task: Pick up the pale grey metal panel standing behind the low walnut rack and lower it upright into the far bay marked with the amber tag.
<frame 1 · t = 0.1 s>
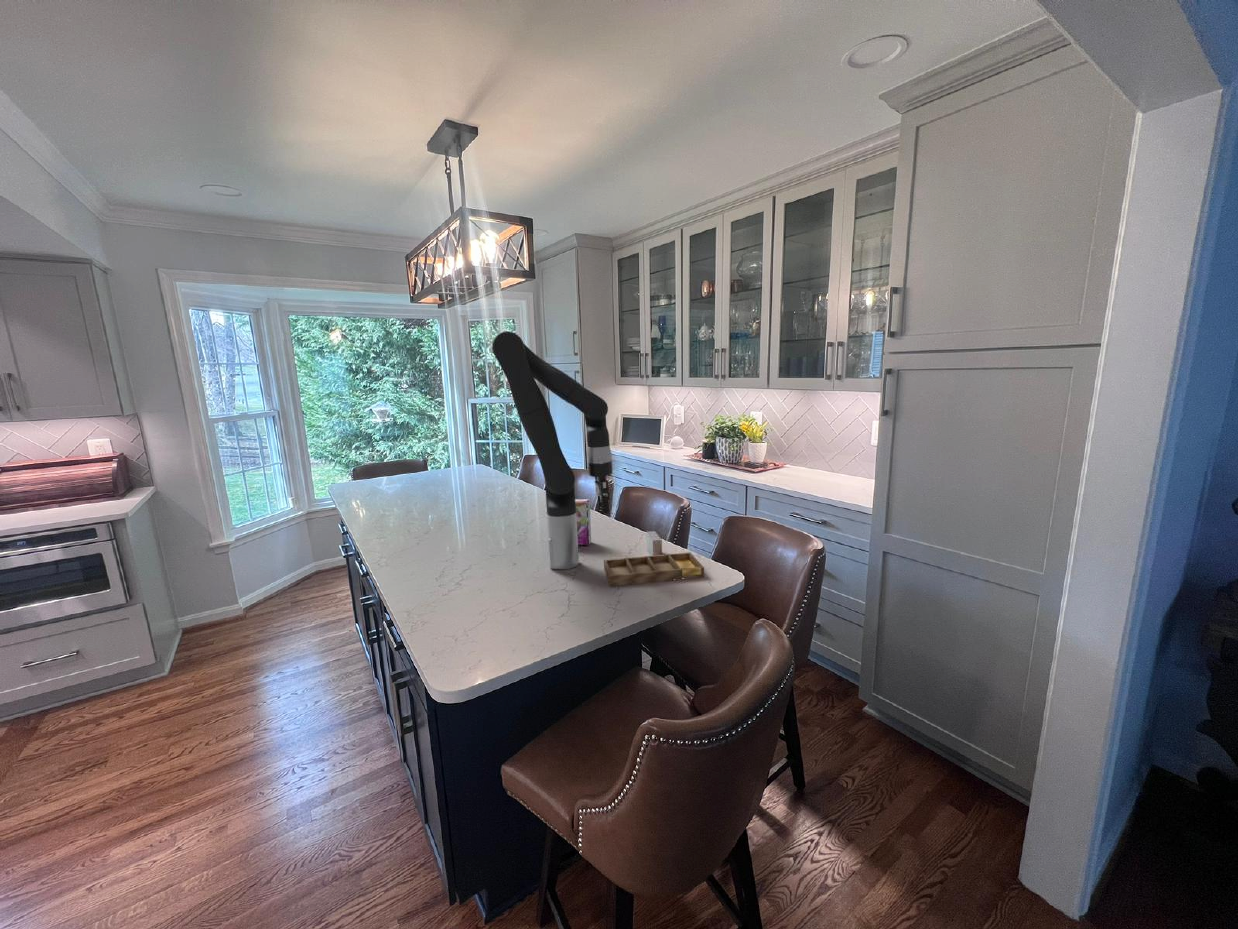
hand: (603, 509, 160), 17 cm above the kitchen island, tool pointing down, fingers open, 8 cm apart
candy bar box: (575, 544, 181), on the kitchen island
rack: (652, 573, 151), on the kitchen island
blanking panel: (654, 555, 166), on the kitchen island
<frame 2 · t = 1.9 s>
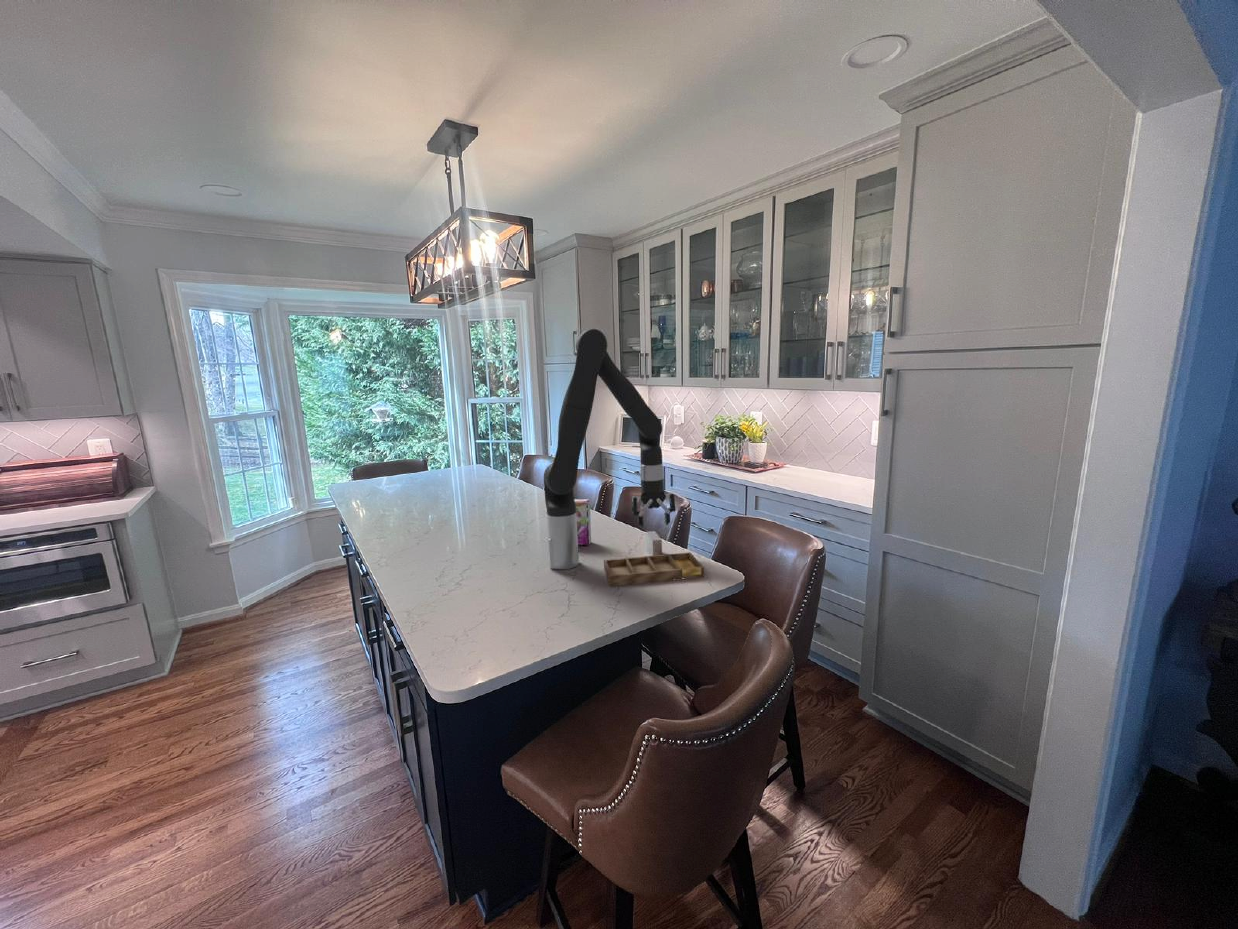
hand: (654, 525, 165), 10 cm above the kitchen island, tool pointing down, fingers open, 8 cm apart
nothing on the kitchen island moved.
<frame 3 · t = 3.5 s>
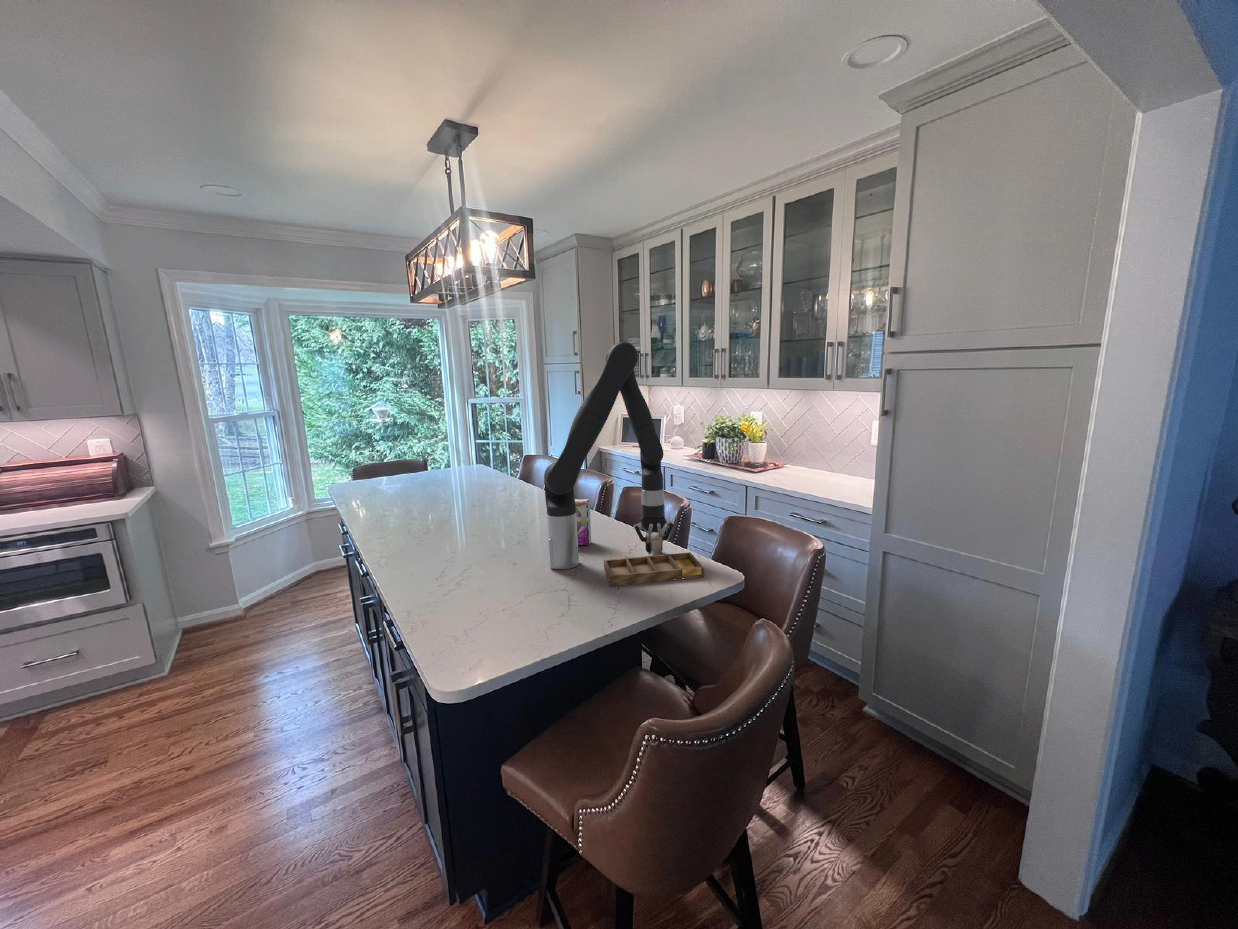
hand: (654, 552, 166), 1 cm above the kitchen island, tool pointing down, fingers closed on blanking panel, 3 cm apart
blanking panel: (654, 555, 166), on the kitchen island, touching gripper
everything else where it was.
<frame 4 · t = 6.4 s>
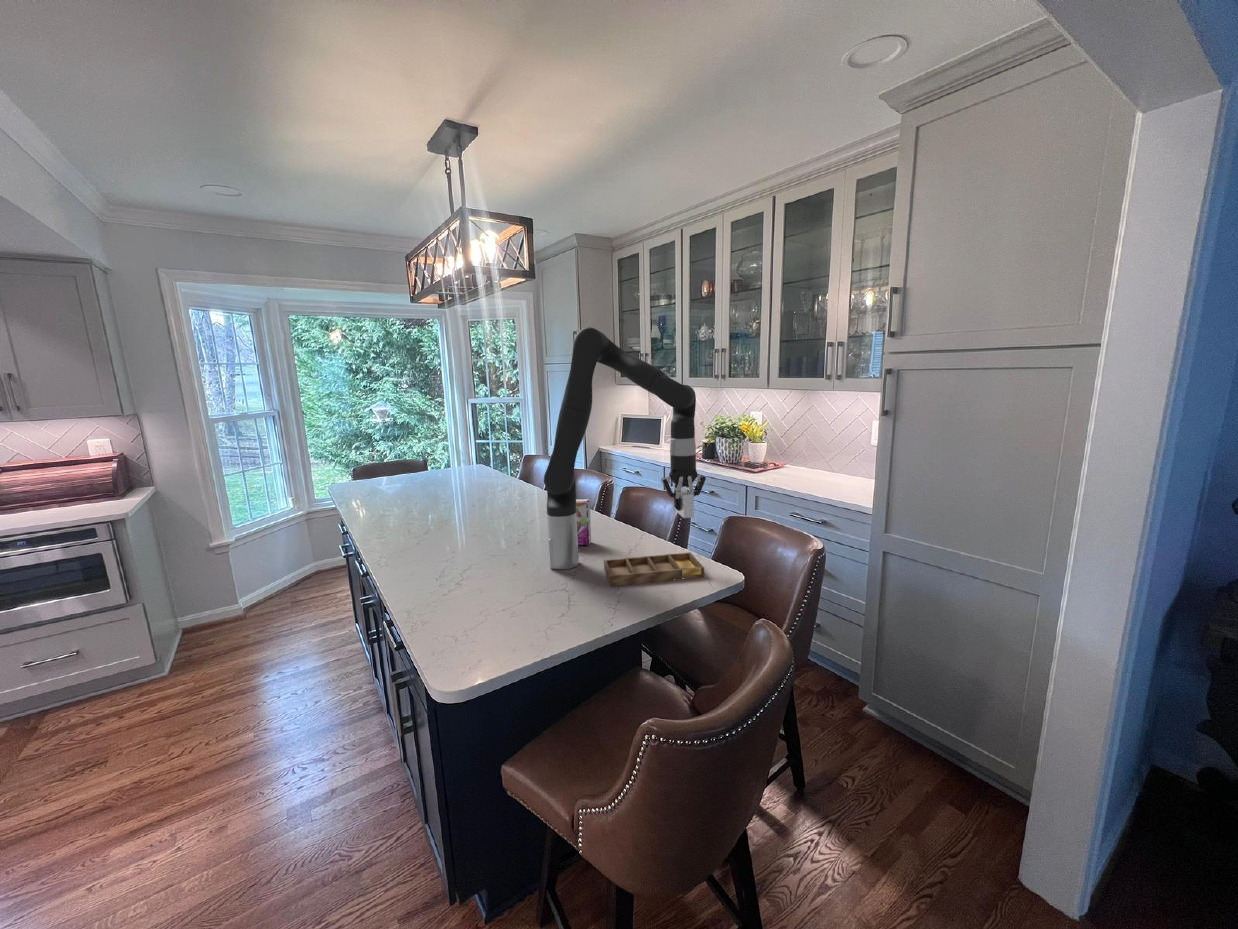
hand: (684, 509, 149), 19 cm above the kitchen island, tool pointing down, fingers closed on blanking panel, 3 cm apart
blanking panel: (683, 513, 150), point 18 cm above the kitchen island, touching gripper
everything else where it was.
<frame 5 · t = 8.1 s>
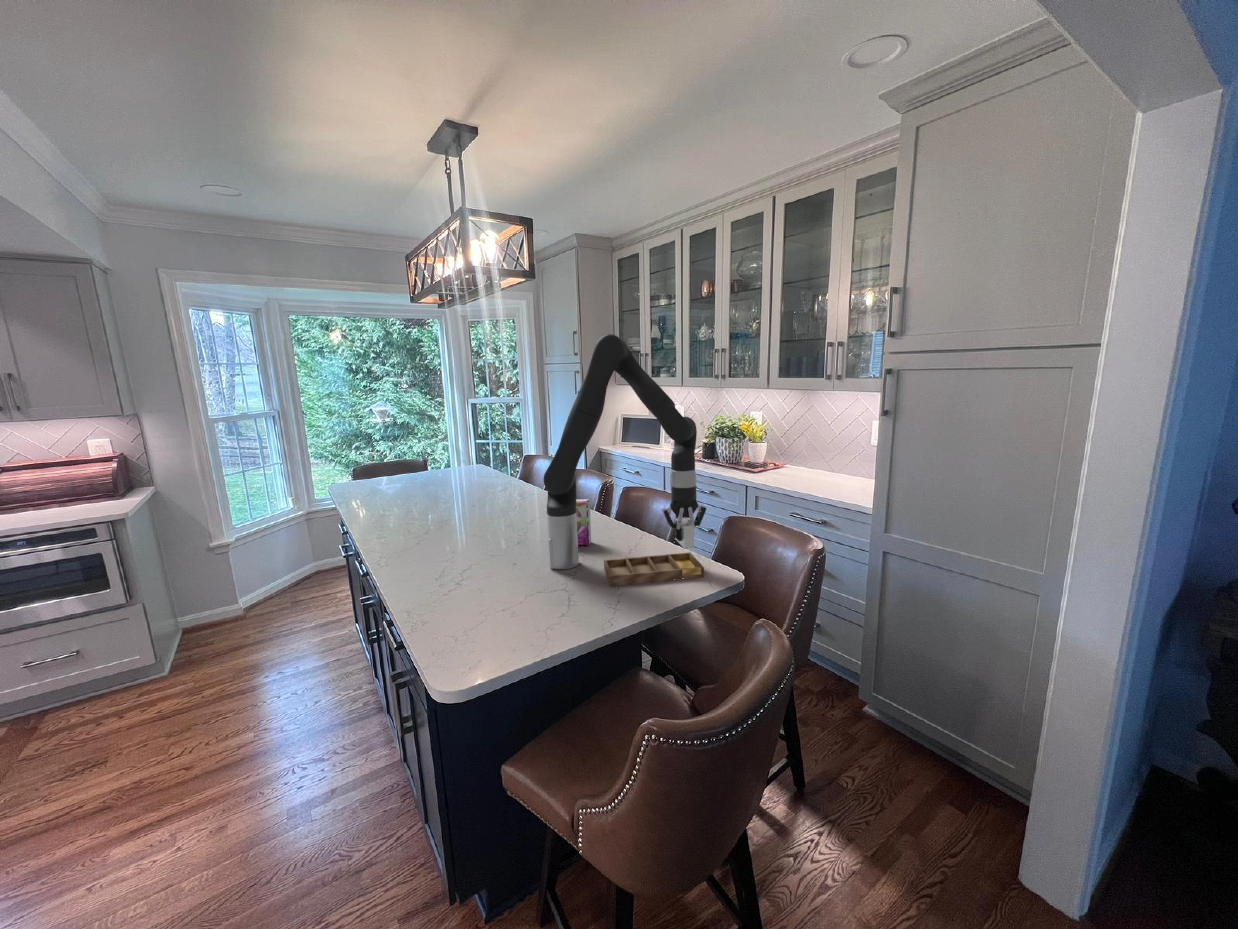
hand: (684, 539, 151), 10 cm above the kitchen island, tool pointing down, fingers closed on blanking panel, 3 cm apart
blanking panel: (684, 543, 151), point 8 cm above the kitchen island, touching gripper
everything else where it was.
when the fingers open (4 cm above the kitchen island, at t = 9.6 s): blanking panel drops 1 cm, resting on rack.
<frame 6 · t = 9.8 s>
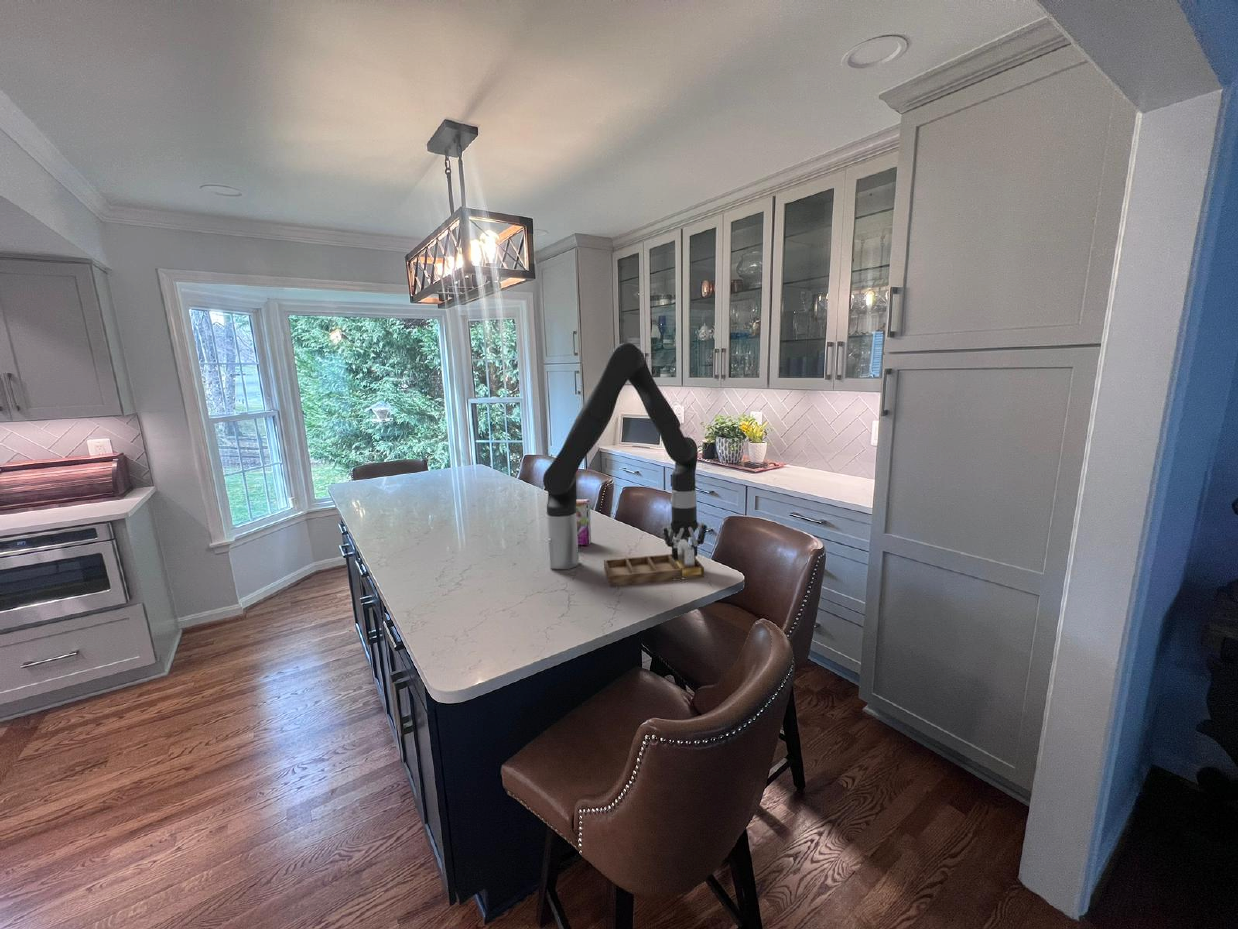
hand: (684, 557, 152), 4 cm above the kitchen island, tool pointing down, fingers open, 5 cm apart
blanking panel: (684, 566, 152), point 1 cm above the kitchen island, touching rack
everything else where it was.
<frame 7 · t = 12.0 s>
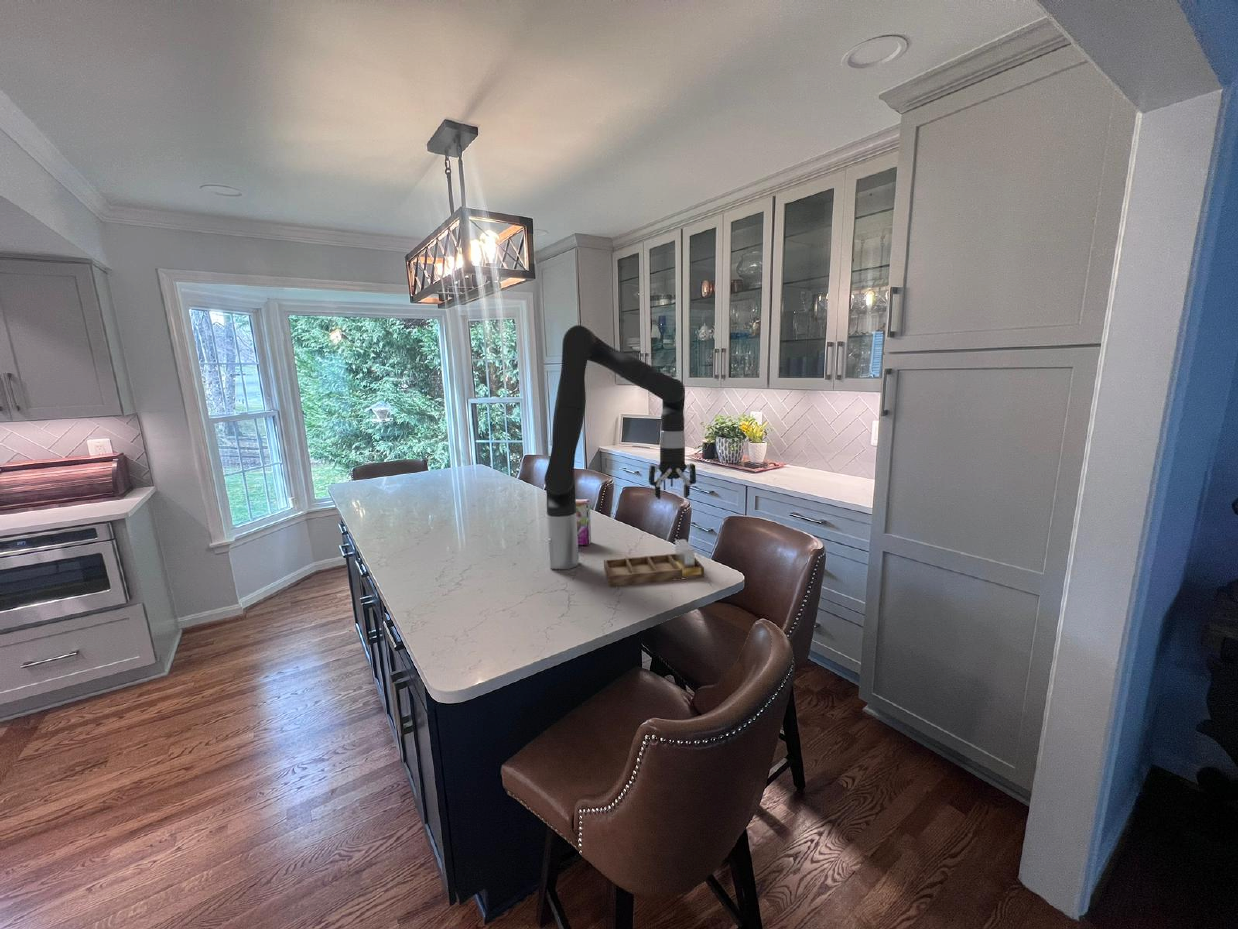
hand: (672, 497, 152), 22 cm above the kitchen island, tool pointing down, fingers open, 8 cm apart
nothing on the kitchen island moved.
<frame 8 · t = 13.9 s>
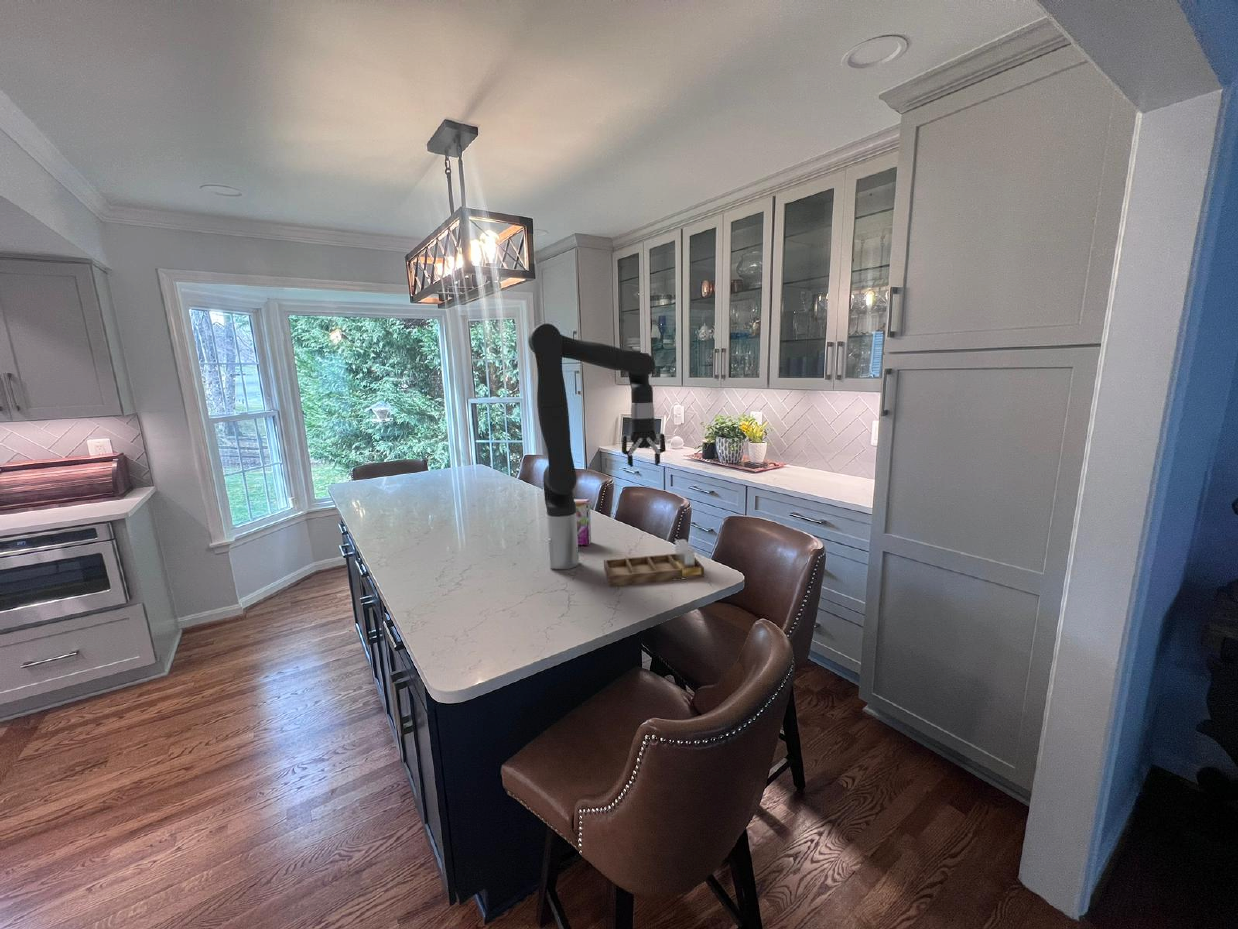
hand: (644, 465, 164), 30 cm above the kitchen island, tool pointing down, fingers open, 8 cm apart
nothing on the kitchen island moved.
at the end: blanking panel 0.2 cm from the target spot on the rack, point 1.1 cm above the rack's base; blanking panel tilted 0°; the gripper is holding nothing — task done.
